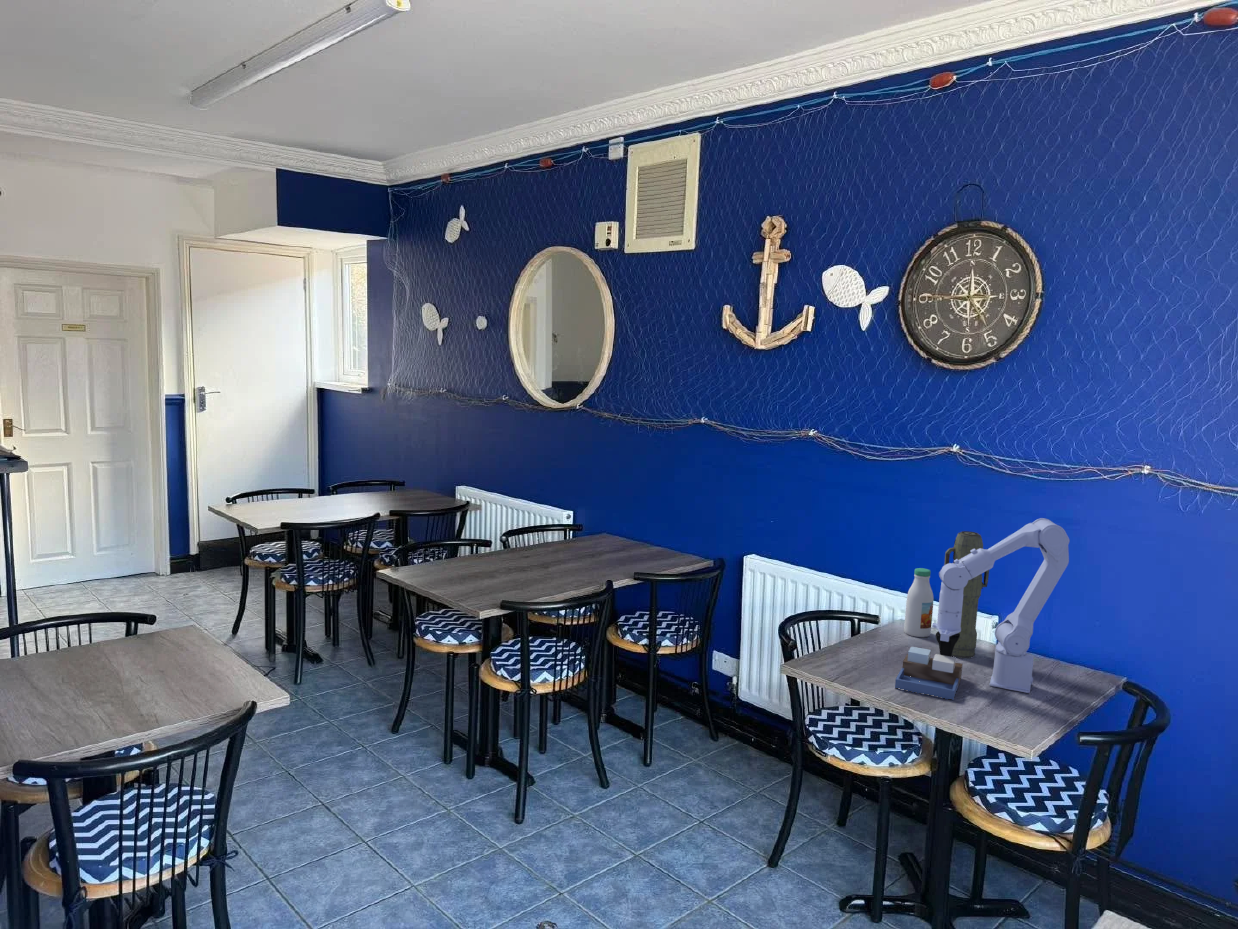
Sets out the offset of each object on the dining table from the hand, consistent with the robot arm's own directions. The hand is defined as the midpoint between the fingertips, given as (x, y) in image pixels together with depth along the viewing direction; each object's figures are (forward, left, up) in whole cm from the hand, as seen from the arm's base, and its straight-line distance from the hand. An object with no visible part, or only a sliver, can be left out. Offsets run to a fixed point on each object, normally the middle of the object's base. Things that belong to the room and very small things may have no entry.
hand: (945, 660), depth 232 cm
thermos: (-1, -24, -5) cm, 24 cm away
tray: (+3, +10, -5) cm, 11 cm away
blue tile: (+6, +1, -1) cm, 7 cm away
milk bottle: (+12, -36, -5) cm, 38 cm away
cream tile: (0, +3, -1) cm, 4 cm away
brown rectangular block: (+3, +1, -5) cm, 6 cm away
